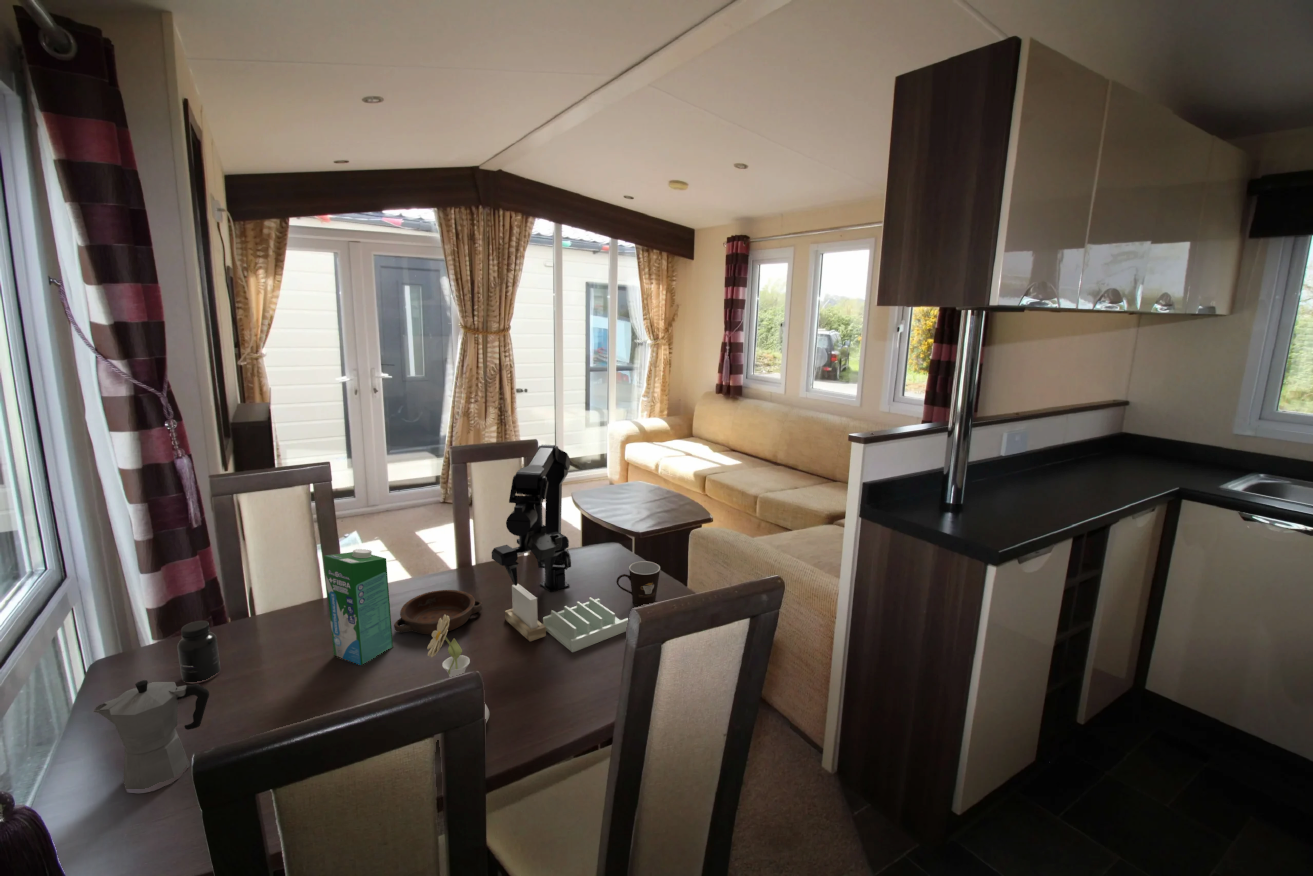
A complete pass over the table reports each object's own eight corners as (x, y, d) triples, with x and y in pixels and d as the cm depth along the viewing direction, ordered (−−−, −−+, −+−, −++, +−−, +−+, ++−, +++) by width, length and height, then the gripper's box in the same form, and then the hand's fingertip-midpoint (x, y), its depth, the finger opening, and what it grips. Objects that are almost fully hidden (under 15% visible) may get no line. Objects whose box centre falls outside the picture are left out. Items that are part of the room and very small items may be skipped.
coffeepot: (97, 806, 98) (77, 708, 94) (119, 766, 107) (101, 675, 103) (212, 778, 104) (198, 685, 100) (224, 743, 113) (212, 655, 109)
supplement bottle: (179, 689, 128) (170, 637, 125) (185, 671, 134) (177, 621, 131) (218, 680, 131) (211, 629, 128) (223, 663, 137) (216, 615, 134)
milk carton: (393, 647, 145) (385, 548, 140) (361, 666, 137) (351, 563, 132) (366, 637, 149) (358, 541, 143) (333, 656, 141) (323, 555, 135)
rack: (543, 628, 155) (542, 610, 154) (598, 608, 166) (598, 591, 165) (572, 652, 144) (572, 633, 143) (629, 629, 155) (629, 612, 154)
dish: (385, 620, 157) (384, 602, 156) (469, 597, 170) (468, 581, 169) (404, 651, 144) (403, 632, 143) (493, 624, 157) (493, 606, 156)
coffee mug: (660, 594, 174) (661, 562, 172) (657, 609, 166) (658, 575, 164) (620, 592, 175) (620, 559, 173) (615, 606, 167) (615, 572, 165)
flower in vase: (441, 705, 125) (434, 593, 119) (496, 708, 124) (492, 595, 119) (414, 751, 112) (405, 627, 106) (476, 754, 111) (470, 630, 106)
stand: (505, 619, 159) (505, 610, 158) (520, 614, 161) (520, 605, 161) (529, 641, 149) (529, 632, 148) (545, 636, 151) (545, 626, 151)
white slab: (512, 621, 158) (511, 585, 156) (519, 618, 159) (518, 583, 157) (531, 637, 151) (530, 600, 149) (537, 635, 152) (537, 598, 150)
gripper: (512, 539, 137) (514, 603, 140) (581, 521, 149) (581, 580, 152) (489, 525, 145) (491, 586, 148) (556, 509, 157) (557, 566, 161)
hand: (531, 579), depth 152 cm, fingers open, 9 cm apart
